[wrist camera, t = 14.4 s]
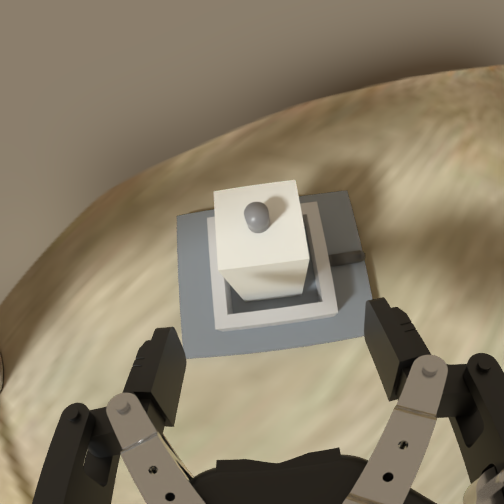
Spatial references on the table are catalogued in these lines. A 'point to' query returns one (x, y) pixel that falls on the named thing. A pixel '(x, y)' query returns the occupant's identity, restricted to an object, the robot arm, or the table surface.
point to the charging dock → (280, 309)
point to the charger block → (261, 240)
